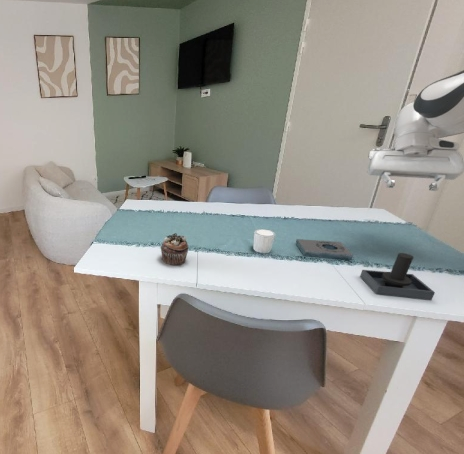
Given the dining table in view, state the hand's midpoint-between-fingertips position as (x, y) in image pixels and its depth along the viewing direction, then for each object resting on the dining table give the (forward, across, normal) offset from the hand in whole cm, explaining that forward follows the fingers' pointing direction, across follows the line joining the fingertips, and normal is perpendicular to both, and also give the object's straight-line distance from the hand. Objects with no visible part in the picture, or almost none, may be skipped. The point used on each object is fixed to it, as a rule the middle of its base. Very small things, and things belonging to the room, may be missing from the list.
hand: (411, 188), depth 86 cm
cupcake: (+37, -62, -1) cm, 72 cm away
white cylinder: (+22, -35, +14) cm, 44 cm away
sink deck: (+17, -16, +19) cm, 30 cm away
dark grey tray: (+29, -1, +7) cm, 30 cm away
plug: (+29, -1, +6) cm, 30 cm away
